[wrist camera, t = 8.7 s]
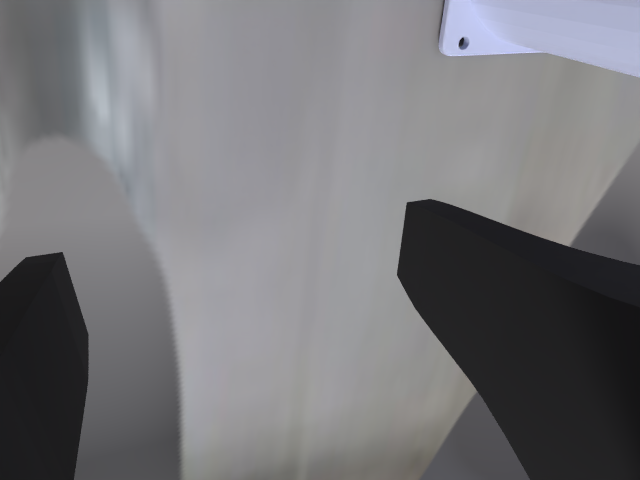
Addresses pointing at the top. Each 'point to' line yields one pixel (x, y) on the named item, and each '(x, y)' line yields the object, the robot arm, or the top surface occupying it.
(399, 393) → the top surface
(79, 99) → the top surface
